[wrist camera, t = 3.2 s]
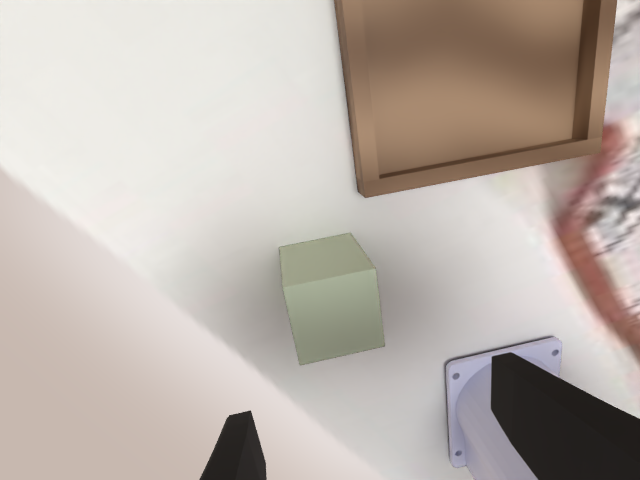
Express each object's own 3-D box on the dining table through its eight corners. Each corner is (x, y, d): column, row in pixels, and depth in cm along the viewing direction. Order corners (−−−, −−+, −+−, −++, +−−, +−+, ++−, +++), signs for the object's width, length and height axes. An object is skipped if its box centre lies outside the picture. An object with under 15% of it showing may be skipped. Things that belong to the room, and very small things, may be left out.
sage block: (358, 295, 21) (385, 346, 16) (292, 309, 21) (299, 365, 16) (350, 232, 20) (375, 268, 15) (279, 246, 19) (282, 287, 15)
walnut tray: (576, 150, 20) (600, 152, 18) (358, 192, 19) (365, 198, 18) (600, -113, 16) (632, -135, 14) (324, -77, 15) (330, -97, 14)
